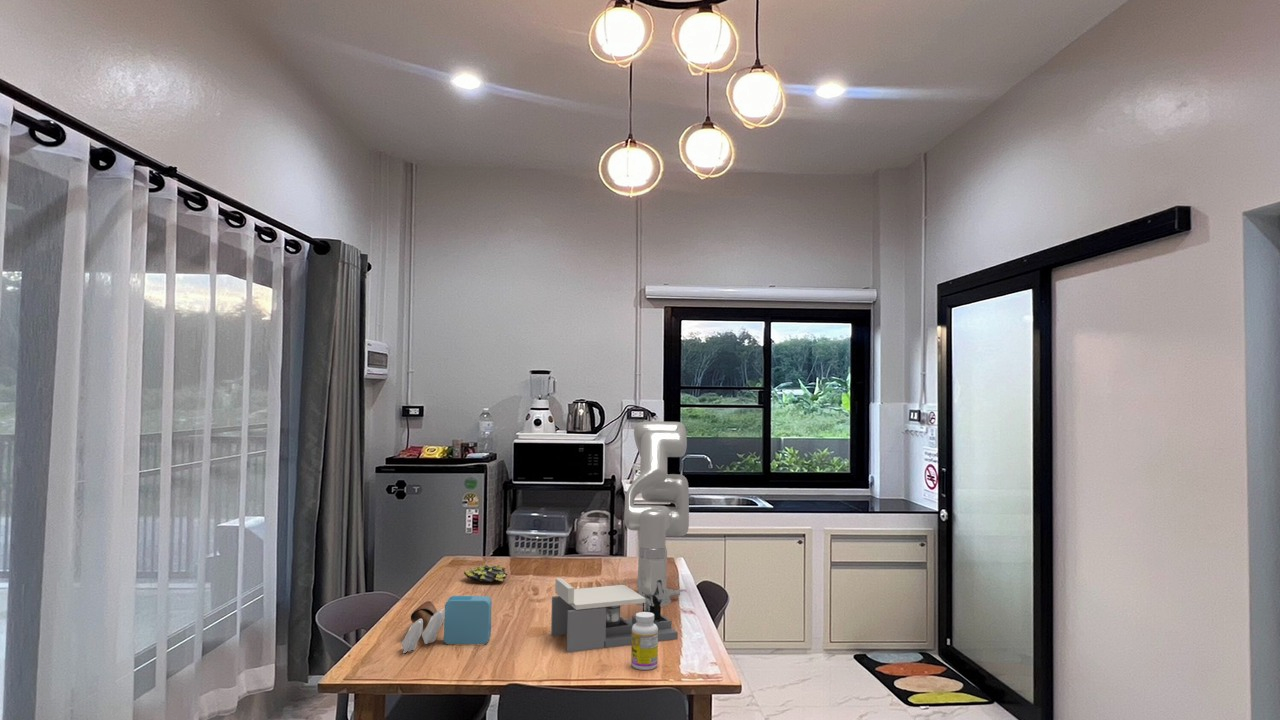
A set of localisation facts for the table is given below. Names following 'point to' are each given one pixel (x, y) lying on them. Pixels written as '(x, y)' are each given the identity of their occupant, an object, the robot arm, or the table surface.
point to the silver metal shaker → (648, 603)
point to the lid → (596, 595)
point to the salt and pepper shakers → (428, 633)
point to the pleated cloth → (487, 573)
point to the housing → (597, 627)
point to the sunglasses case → (424, 613)
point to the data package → (467, 620)
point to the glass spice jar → (613, 616)
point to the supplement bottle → (644, 642)
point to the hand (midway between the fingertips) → (651, 616)
